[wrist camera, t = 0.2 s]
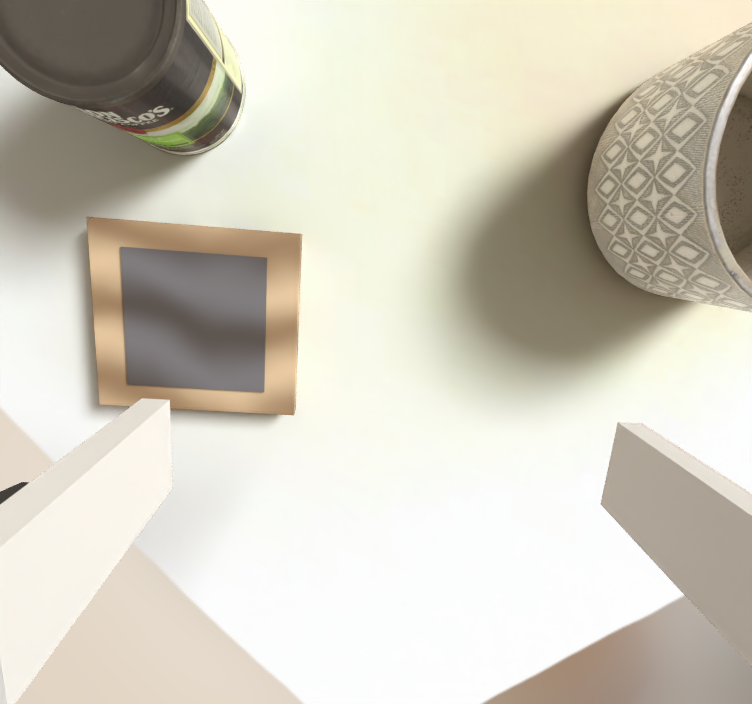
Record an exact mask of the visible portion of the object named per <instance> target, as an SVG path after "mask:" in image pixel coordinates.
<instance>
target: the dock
mask: <svg viewBox="0 0 752 704" xmlns="http://www.w3.org/2000/svg"><path fill="white" fill-rule="evenodd" d="M87 230H88V244H89V259H90V273H91V288H92V302H93V317H94V331H95V346H96V361H97V375H98V390H99V404H100V405H118V406H132V405H134V404H135V403H136V402H138V401H139V400H140V399H142V398H145V399H164V400H170V408H172V409H190V410H209V411H227V412H245V413H263V414H281V415H294V413H295V408H296V382H297V356H298V329H299V303H300V277H301V251H302V234H295V233H282V232H270V231H257V230H245V229H232V228H220V227H207V226H195V225H182V224H170V223H157V222H145V221H132V220H120V219H107V218H95V217H87Z"/></svg>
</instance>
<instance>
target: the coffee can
mask: <svg viewBox="0 0 752 704" xmlns="http://www.w3.org/2000/svg"><path fill="white" fill-rule="evenodd" d="M0 65H1V66H2V67H3V68H4V69H5V70H6V71H7V72H8V73H9V74H11V75H12V76H13V77H14V78H15V79H16V80H18V81H19V82H21V83H22V84H23V85H25V86H26V87H28V88H30V89H31V90H33V91H35V92H37V93H39V94H41V95H43V96H45V97H47V98H50V99H52V100H55V101H58V102H60V103H64V104H67V105H70V106H72V107H74V108H76V109H79V110H80V111H82V112H85V113H86V114H89V115H91V116H93V117H95V118H97V119H99V120H102V121H104V122H106V123H108V124H110V125H112V126H114V127H116V128H119V129H121V130H123V131H125V132H127V133H129V134H131V135H133V136H135V137H137V138H139V139H141V140H143V141H145V142H147V143H148V144H150V145H152V146H154V147H155V148H157V149H160V150H162V151H165V152H169V153H172V154H178V155H192V154H198V153H202V152H205V151H207V150H210V149H212V148H214V147H216V146H217V145H219V144H220V143H222V142H223V141H224V140H225V139H226V138H227V137H228V136H229V135H230V134H231V132H232V131H233V130H234V128H235V126H236V125H237V123H238V121H239V119H240V116H241V113H242V110H243V106H244V101H245V79H244V73H243V69H242V66H241V62H240V60H239V58H238V55H237V53H236V51H235V49H234V47H233V46H232V44H231V42H230V41H229V39H228V38H227V37H226V36H225V35H224V33H223V32H222V30H221V28H220V27H219V25H218V23H217V22H216V20H215V18H214V17H213V15H212V14H211V12H210V10H209V9H208V7H207V5H206V4H205V2H204V1H203V0H0Z"/></svg>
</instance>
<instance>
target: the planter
mask: <svg viewBox="0 0 752 704" xmlns="http://www.w3.org/2000/svg"><path fill="white" fill-rule="evenodd" d="M587 202H588V215H589V219H590V224H591V229H592V232H593V235H594V237H595V240H596V242H597V245H598V247H599V249H600V250H601V252H602V254H603V255H604V257H605V259H606V260H607V262H608V263H609V264H610V265H611V266H612V267H613V268H614V270H615V271H616V272H617V273H618V274H619V275H621V276H622V277H623V278H625V279H626V280H627V281H628V282H630V283H631V284H633V285H635V286H637V287H639V288H640V289H642V290H644V291H648V292H651V293H654V294H657V295H661V296H666V297H672V298H677V299H682V300H688V301H693V302H699V303H704V304H710V305H715V306H721V307H726V308H732V309H737V310H743V311H748V312H752V22H751V23H749V24H747V25H746V26H744V27H742V28H740V29H738V30H736V31H735V32H733V33H731V34H729V35H727V36H726V37H724V38H722V39H720V40H718V41H716V42H715V43H713V44H711V45H709V46H707V47H705V48H704V49H702V50H700V51H698V52H696V53H695V54H693V55H691V56H689V57H687V58H685V59H684V60H682V61H680V62H678V63H676V64H674V65H673V66H671V67H669V68H667V69H665V70H663V71H662V72H660V73H658V74H656V75H654V76H653V77H652V78H650V79H649V80H648V81H646V82H645V83H644V84H642V85H641V86H640V87H639V88H637V89H636V90H635V91H634V92H633V93H632V94H631V95H630V96H629V97H628V98H627V99H626V100H625V102H624V103H623V104H622V105H621V106H620V108H619V109H618V110H617V112H616V113H615V114H614V116H613V117H612V118H611V120H610V122H609V123H608V125H607V127H606V129H605V131H604V133H603V134H602V136H601V138H600V141H599V143H598V146H597V148H596V151H595V154H594V156H593V160H592V164H591V169H590V173H589V179H588V190H587Z"/></svg>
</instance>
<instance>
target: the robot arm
mask: <svg viewBox="0 0 752 704" xmlns="http://www.w3.org/2000/svg"><path fill="white" fill-rule="evenodd" d="M172 488H173V472H172V446H171V420H170V400H164V399H145V398H142V399H140V400H139V401H138V402H136V403H135V404H134V405H132V406H131V407H130V408H128V409H127V410H126V411H124V412H123V413H122V414H120V415H119V416H118V417H116V418H115V419H114V420H112V421H111V422H110V423H108V424H107V425H106V426H104V427H103V428H102V429H100V430H99V431H98V432H96V433H95V434H94V435H92V436H91V437H90V438H88V439H87V440H86V441H84V442H83V443H82V444H80V445H79V446H78V447H76V448H75V449H74V450H72V451H71V452H70V453H68V454H67V455H66V456H64V457H63V458H62V459H60V460H59V461H58V462H56V463H55V464H54V465H52V466H51V467H50V468H49V469H47V470H46V471H44V472H43V473H42V474H40V475H39V476H38V477H36V478H35V479H34V480H32V481H31V482H30V483H27V482H21V483H19V484H17V485H14V486H12V487H10V488H8V489H6V490H3V491H1V492H0V704H15V703H16V702H17V701H18V699H19V698H20V697H21V695H22V694H23V693H24V691H25V690H26V688H27V687H28V686H29V684H30V683H31V682H32V680H33V679H34V677H35V676H36V675H37V673H38V672H39V671H40V669H41V668H42V666H43V665H44V663H45V662H46V661H47V660H48V658H49V657H50V655H51V654H52V653H53V651H54V650H55V649H56V647H57V646H58V645H59V643H60V642H61V640H62V639H63V638H64V636H65V635H66V634H67V632H68V631H69V629H70V628H71V627H72V625H73V624H74V623H75V621H76V620H77V619H78V617H79V616H80V614H81V613H82V612H83V610H84V609H85V607H86V606H87V605H88V603H89V602H90V600H91V599H92V598H93V597H94V595H95V594H96V592H97V591H98V590H99V588H100V587H101V586H102V584H103V583H104V581H105V580H106V579H107V577H108V576H109V575H110V573H111V572H112V571H113V569H114V568H115V566H116V565H117V564H118V562H119V561H120V560H121V558H122V557H123V555H124V554H125V553H126V551H127V550H128V549H129V547H130V546H131V544H132V543H133V542H134V540H135V539H136V538H137V536H138V535H139V534H140V532H141V531H142V529H143V528H144V527H145V525H146V524H147V523H148V521H149V520H150V518H151V517H152V516H153V514H154V513H155V512H156V510H157V509H158V507H159V506H160V505H161V503H162V502H163V501H164V499H165V498H166V497H167V495H168V494H169V492H170V491H171V490H172ZM601 505H602V506H603V507H604V508H605V509H606V511H607V512H608V513H609V514H610V515H611V516H612V517H613V518H614V519H615V520H616V521H617V522H618V523H619V525H620V526H621V527H622V528H623V529H624V530H625V531H626V532H627V533H628V534H629V535H630V536H631V537H632V539H633V540H634V541H635V542H636V543H637V544H638V545H639V546H640V547H641V548H642V549H643V550H644V552H645V553H646V554H647V555H648V556H649V557H650V558H651V559H652V560H653V561H654V562H655V563H656V564H657V566H658V567H659V568H660V569H661V570H662V571H663V572H664V573H665V574H666V575H667V576H668V577H669V579H670V580H671V581H672V582H673V583H674V584H675V585H676V586H677V587H678V588H679V589H680V590H681V591H682V593H683V594H684V595H685V596H686V597H687V598H688V599H689V600H690V601H691V602H692V603H693V604H694V605H695V607H697V609H698V610H699V611H700V612H701V613H702V614H703V615H704V616H705V617H706V618H707V619H708V621H709V622H710V623H711V624H712V625H713V626H714V627H715V628H716V629H717V630H718V631H719V632H720V633H721V634H722V636H723V637H724V638H725V639H726V640H727V641H728V642H729V643H730V644H731V645H732V647H733V648H734V649H735V650H736V651H737V652H738V653H739V654H740V655H741V656H742V657H743V658H744V659H745V661H746V662H747V663H748V664H749V665H750V666H751V667H752V494H751V493H750V492H748V491H746V490H745V489H743V488H742V487H740V486H739V485H737V484H736V483H734V482H732V481H731V480H729V479H728V478H726V477H725V476H723V475H722V474H720V473H718V472H717V471H715V470H714V469H712V468H711V467H709V466H708V465H706V464H704V463H703V462H701V461H700V460H698V459H697V458H695V457H694V456H692V455H690V454H689V453H687V452H686V451H684V450H683V449H681V448H680V447H678V446H676V445H675V444H673V443H672V442H670V441H669V440H667V439H666V438H664V437H662V436H661V435H659V434H658V433H656V432H655V431H653V430H652V429H650V428H648V427H647V426H645V425H644V424H640V423H620V422H618V424H617V429H616V434H615V439H614V443H613V448H612V453H611V457H610V462H609V467H608V472H607V476H606V481H605V486H604V491H603V495H602V500H601Z"/></svg>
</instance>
